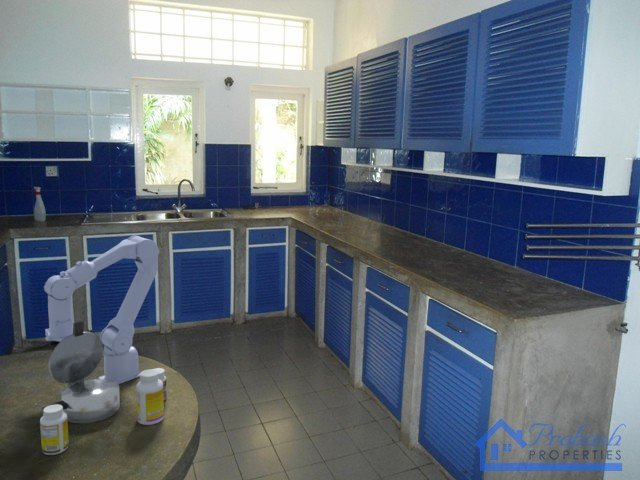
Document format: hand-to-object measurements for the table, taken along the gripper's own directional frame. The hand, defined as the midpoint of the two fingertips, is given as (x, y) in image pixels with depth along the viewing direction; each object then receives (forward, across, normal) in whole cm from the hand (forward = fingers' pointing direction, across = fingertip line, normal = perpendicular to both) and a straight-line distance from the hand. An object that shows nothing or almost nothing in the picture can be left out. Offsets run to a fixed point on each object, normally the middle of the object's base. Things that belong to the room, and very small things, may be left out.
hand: (62, 365), depth 143 cm
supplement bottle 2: (+9, +30, +7) cm, 32 cm away
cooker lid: (-6, +9, 0) cm, 10 cm away
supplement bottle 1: (+9, +26, -15) cm, 31 cm away
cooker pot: (+8, +14, -3) cm, 17 cm away
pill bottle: (+9, +22, +15) cm, 28 cm away
